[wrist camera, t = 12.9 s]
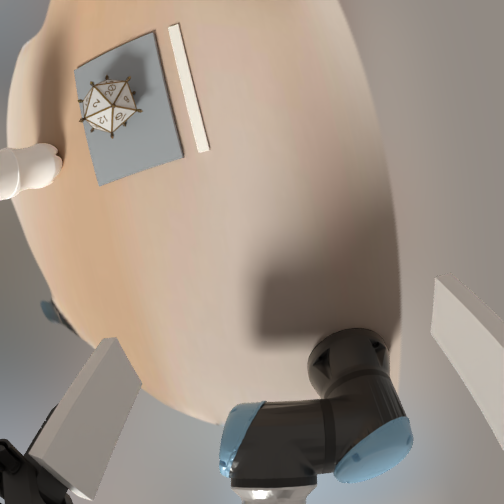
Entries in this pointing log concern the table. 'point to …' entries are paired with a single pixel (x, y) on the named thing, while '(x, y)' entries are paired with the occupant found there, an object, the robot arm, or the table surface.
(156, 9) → the table surface
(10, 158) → the water bottle
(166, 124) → the mat
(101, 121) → the game die
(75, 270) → the table surface
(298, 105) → the table surface
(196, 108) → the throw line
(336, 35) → the table surface
